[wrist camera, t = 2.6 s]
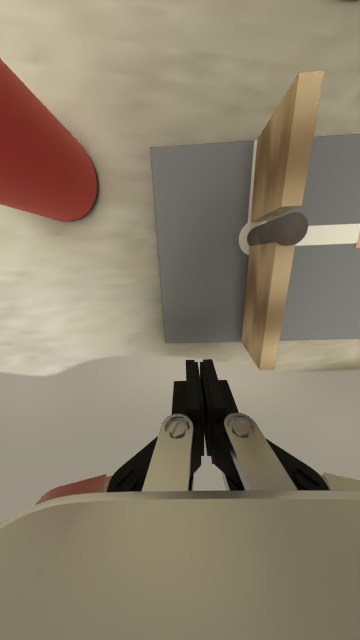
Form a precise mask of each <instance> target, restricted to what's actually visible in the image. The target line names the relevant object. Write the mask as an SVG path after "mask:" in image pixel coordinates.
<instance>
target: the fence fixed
mask: <svg viewBox="0 0 360 640" xmlns="http://www.w3.org/2000/svg"><path fill="white" fill-rule="evenodd" d="M323 76H324V71H315V72H303V73H299V74H298V76H297V77H296V79H295V80H294V82H293V84H292V85H291V87H290V88H289V90H288V92H287V93H286V95H285V96H284V98H283V99H282V101H281V103H280V104H279V106H278V107H277V109H276V111H275V112H274V114H273V115H272V117H271V119H270V120H269V122H268V123H267V125H266V127H265V128H264V130H263V131H262V133H261V135H260V136H259V138H258V139H257V149H256V161H255V173H254V185H253V196H252V208H251V220H250V222H265V221H267V220H269V219H272V218H274V217H276V216H279V215H281V214H283V213H286V212H288V211H290V210H293V209H295V208H297V207H300V206H302V201H303V195H304V189H305V183H306V177H307V172H308V166H309V160H310V154H311V148H312V142H313V136H314V130H315V124H316V118H317V112H318V106H319V100H320V94H321V88H322V82H323Z"/></svg>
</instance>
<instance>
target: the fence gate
mask: <svg viewBox="0 0 360 640" xmlns="http://www.w3.org/2000/svg"><path fill="white" fill-rule="evenodd" d="M307 230H308V221H307V218H306V217H305V215H303V214H302V213H300V212H292V213H289V214H287V215H284V216H282V217H279V218H277V219H274V220H272V221H269V222H267V223H264V224H262V225H259V226H257V227H254V228H253V229H251V230H250V232H249V233H248V236H247V242H248V245H249V246H250V249H249V261H248V272H247V283H246V295H245V306H244V318H243V329H242V341H241V342H242V344H243V345H244V347H245V348H246V350H247V351H248V353H249V354H250V356H251V357H252V359H253V361H254V362H255V364H256V365H257V367H258V368H259V370H273V369H275V363H276V357H277V351H278V345H279V339H280V333H281V327H282V321H283V315H284V309H285V303H286V297H287V291H288V285H289V279H290V273H291V267H292V261H293V255H294V249H295V244H297V243H298V242H300V241H301V240H302V239H303V238H304V237H305V235H306V233H307Z"/></svg>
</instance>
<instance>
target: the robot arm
mask: <svg viewBox="0 0 360 640" xmlns="http://www.w3.org/2000/svg"><path fill="white" fill-rule="evenodd" d="M204 434H205V441H206V449H207V456H211V458H212V464H215V465H216V466H217V467H218V468H219V469H220V470H221V471H222V477H223V480H224V484H225V487H226V490H227V491H193V485H194V472H195V471H196V470H197V469H198V468H199V467H200V465H201V456H204ZM0 640H360V480H355V479H351V478H346V477H342V476H337V475H333V474H329V473H323V475H319V474H318V473H317V472H316V471H315V470H313V469H312V468H311V467H309V466H308V465H306V464H304V463H303V462H301V461H300V460H298V459H296V458H295V457H294V456H292V455H290V454H289V453H287V452H286V451H284V450H283V449H281V448H279V447H278V446H276V445H275V444H273V443H272V442H270V441H269V440H267V439H265V437H264V436H263V434H262V432H261V431H260V429H259V428H258V426H257V424H256V423H255V422H254V420H252V419H251V418H250V417H249V416H247V415H245V414H242V413H239V412H238V409H237V406H236V404H235V401H234V398H233V396H232V393H231V390H230V388H229V385H228V382H227V380H218V378H217V375H216V371H215V368H214V365H213V361H212V359H209V360H203V362H200V375H199V368H198V362H194V360H186V381H174V391H173V404H172V415H171V416H169V417H167V418H166V419H165V420H164V421H163V423H162V426H161V429H160V432H159V436H157V437H156V438H155V439H154V440H153V441H152V442H150V443H149V444H148V445H147V446H146V447H145V448H144V449H142V450H141V451H140V452H138V453H137V454H136V455H135V456H134V457H133V458H131V459H130V460H129V461H128V462H126V463H125V464H124V465H123V466H122V467H120V468H119V469H118V470H117V471H116V472H115V473H114V475H113V476H109V477H107V476H106V474H105V475H101V476H98V477H94V478H90V479H86V480H83V481H79V482H76V483H71V484H68V485H64V486H60V487H57V488H55V489H53V490H50V491H49V492H48V493H46V494H45V495H44V496H42V497H41V499H40V500H39V501H38V502H37V503H36V504H35V505H34V506H32V507H29V508H27V509H25V510H23V511H21V512H19V513H17V514H15V515H13V516H12V517H10V518H8V519H6V520H5V521H3V522H2V523H0Z"/></svg>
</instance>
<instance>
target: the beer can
mask: <svg viewBox="0 0 360 640" xmlns="http://www.w3.org/2000/svg"><path fill="white" fill-rule="evenodd" d="M96 191H97V182H96V173H95V170H94V167H93V164H92V162H91V159H90V157H89V156H88V154H87V153H86V151H85V150H84V148H83V147H82V145H81V144H80V143H79V142H78V141H77V140H76V139H75V138H74V137H73V136H72V135H71V134H70V132H69V131H68V130H67V129H66V128H65V127H64V126H63V125H62V124H61V123H60V122H59V121H58V120H57V119H56V118H55V116H54V115H53V114H52V113H51V112H50V111H49V110H48V109H47V108H46V107H45V106H44V105H43V104H42V103H41V102H40V100H39V99H38V98H37V97H36V96H35V95H34V94H33V93H32V92H31V91H30V90H29V89H28V88H27V87H26V86H25V84H24V83H23V82H22V81H21V80H20V79H19V78H18V77H17V76H16V75H15V74H14V73H13V72H12V71H11V70H10V68H9V67H8V66H7V65H6V64H5V63H4V62H3V61H2V60H1V59H0V204H1V205H5V206H9V207H12V208H16V209H19V210H23V211H27V212H30V213H34V214H37V215H41V216H45V217H48V218H52V219H55V220H59V221H74V220H77V219H79V218H82V217H83V216H84V215H85V214H86V213H87V212H88V211H89V210H90V209H91V207H92V205H93V203H94V201H95V197H96Z"/></svg>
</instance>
